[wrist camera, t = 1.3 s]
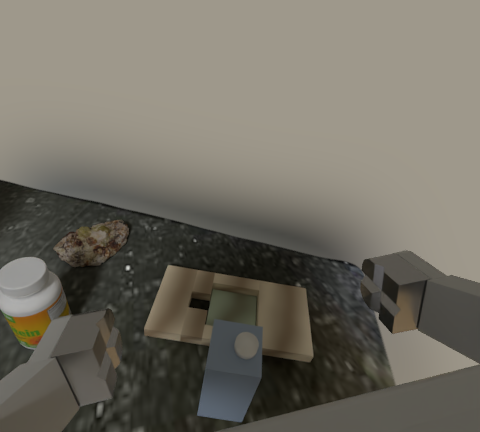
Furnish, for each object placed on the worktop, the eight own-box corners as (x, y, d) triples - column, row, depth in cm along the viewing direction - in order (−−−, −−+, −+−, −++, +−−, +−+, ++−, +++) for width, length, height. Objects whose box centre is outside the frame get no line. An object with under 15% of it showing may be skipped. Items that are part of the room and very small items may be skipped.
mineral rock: (73, 271, 38) (42, 227, 40) (73, 287, 41) (45, 245, 43) (145, 237, 45) (115, 202, 47) (140, 252, 48) (113, 218, 50)
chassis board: (144, 335, 35) (144, 328, 34) (168, 272, 43) (168, 265, 42) (309, 362, 35) (313, 356, 35) (302, 294, 43) (305, 288, 42)
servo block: (197, 415, 29) (206, 364, 23) (205, 369, 33) (215, 313, 26) (241, 422, 29) (263, 373, 23) (244, 375, 33) (264, 322, 27)
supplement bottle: (5, 344, 32) (-31, 287, 26) (40, 303, 36) (16, 246, 30) (53, 356, 32) (28, 301, 26) (82, 313, 36) (66, 258, 30)
